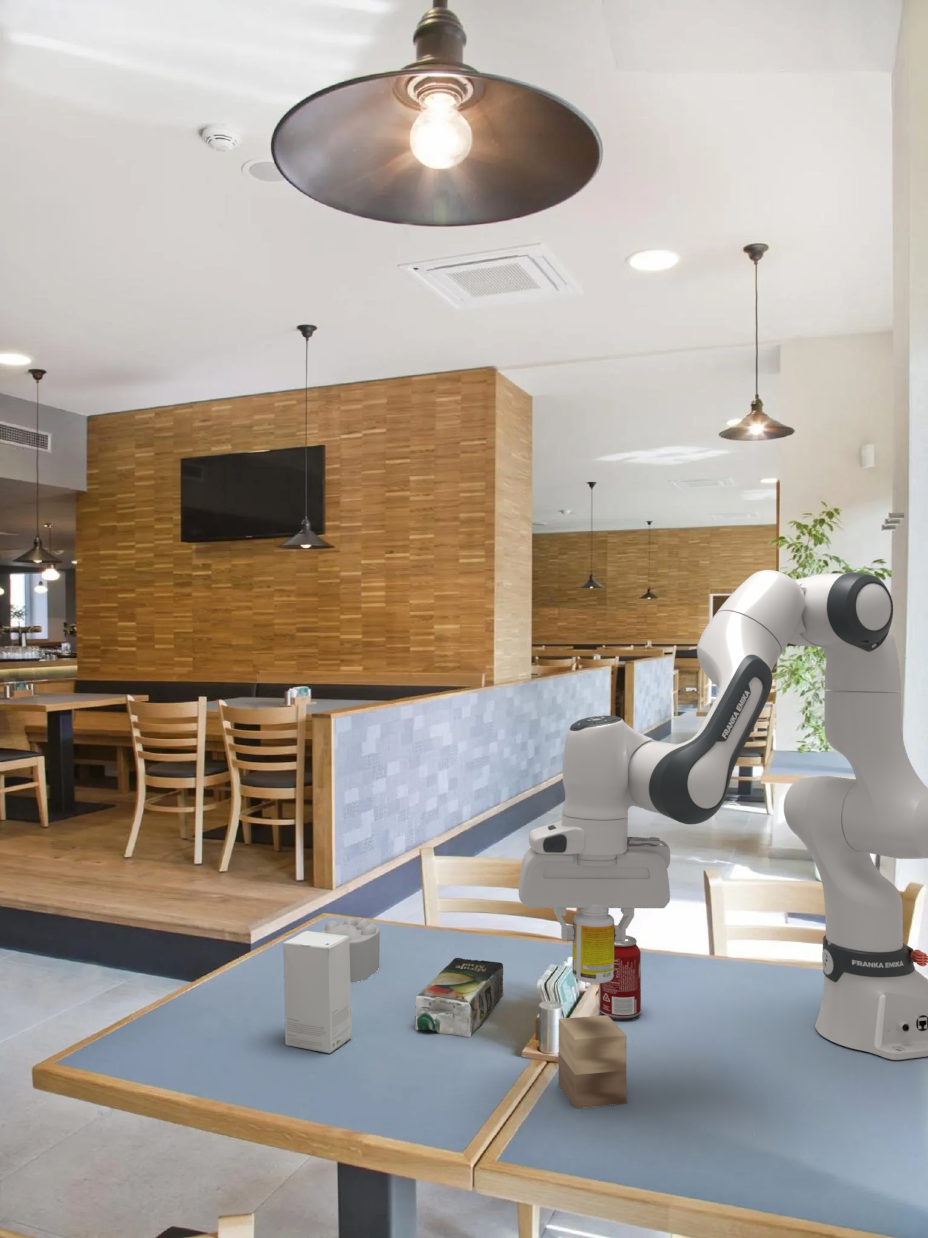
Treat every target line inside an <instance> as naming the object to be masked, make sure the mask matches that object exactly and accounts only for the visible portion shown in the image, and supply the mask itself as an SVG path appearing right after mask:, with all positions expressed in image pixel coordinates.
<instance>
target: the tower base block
mask: <svg viewBox="0 0 928 1238" xmlns="http://www.w3.org/2000/svg"><path fill="white" fill-rule="evenodd" d="M557 1059H558V1060H557V1061H558V1063H557V1064H558V1070H557V1071H558V1073H557V1076H558V1077H557V1079H558V1080H557V1081H558V1082H557V1083H558V1084H559V1085H558V1086H559V1088H560V1089H561V1090H562V1092H563V1093H564V1095H565V1096H566V1098H567V1099H568V1098H569V1099H568V1100H569V1102H570V1101H571V1102H570V1103H571V1104H573V1105H572V1106H573V1107H574V1109H575V1110H577V1108H579V1109H584V1108H583V1107H588V1108H595V1107H594V1106H598V1107H605V1105H607V1106H613V1105H612V1104H616V1105H622V1104H621V1103H626V1104H627V1069H626V1070H625V1071H614V1072H603V1073H592V1074H581V1075H575V1074H574V1073H573V1071H572V1070H571V1069H570V1067H569V1066H568V1064H567V1063H566V1062H565V1060H564V1059H563V1058H562V1056H561V1055H560V1053H559V1051H558V1058H557ZM610 1104H611V1105H610ZM603 1105H604V1106H603ZM592 1106H593V1107H592Z"/></svg>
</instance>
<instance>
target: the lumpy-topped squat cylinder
mask: <svg viewBox="0 0 928 1238" xmlns="http://www.w3.org/2000/svg"><path fill="white" fill-rule="evenodd" d="M319 933H327V934H336V935H344V936H349V945H350V947H349V949H350V982H353V983H358V982H357V981H360V982H362V981H361V980H364V981H366V980H368V979H369V978H368V977H370V976H371V975H372V974H374V973H375V972H376V971H377V970H378V968H379V969H380V950H381V949H380V943H381V942H380V941H381V940H380V937H381V936H380V935H381V934H380V928H379V927H378V925H377V924H375V923H373V922H370V920H369V919H368V918H362V919H360V920H359V919H357V918H354V917H348V918H347V919H345V920H344V921H343V922H340V923H339V922H338V921H336V920H329V921H328V922H327V923H326V924H325V927H324V929H322V930H321V931H320V932H319ZM378 971H379V970H378ZM378 971H377V972H378ZM377 972H376V973H377ZM376 973H375V974H376ZM375 974H374V975H375ZM371 977H372V976H371ZM371 977H370V978H371ZM367 978H368V979H367ZM365 979H366V980H365Z"/></svg>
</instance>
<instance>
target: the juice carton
mask: <svg viewBox="0 0 928 1238" xmlns="http://www.w3.org/2000/svg"><path fill="white" fill-rule="evenodd" d="M503 994H504V963H502V962H499V961H489V960H479V959H468V958H467V959H466V958H461V957H455V958H453V959H452V961H451V962H450V963H448V965H446V966H445V967H444V968H443V969H442V970H441V971H440V972H439V973H438V974H437V975H436V977H435V978H434V979H433V980H431V982H430V983H429V984H427V986H426V987H424V988H423V989H422V990H421V991H420V992H419V993H418V994H417V995H416V996H415V1011H416V1012H415V1013H416V1014H415V1016H414V1023H415V1030H416V1031H422V1030H423V1031H425V1030H431V1031H433V1032H436V1033H438V1034H443V1035H454V1036H457V1037H458V1036H459V1037H465V1038H471V1037H472V1035H473V1034H475V1031H476V1030H478V1029H479V1028H480V1027H481V1025H482V1023H483V1021H484V1020H485V1018H486V1017H488V1015H489V1013H490V1012H492V1010H493V1009H494V1008H495V1006H496V1005H497V1003H499V1001H500V1000H501V998H502V997H503Z"/></svg>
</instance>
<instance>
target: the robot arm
mask: <svg viewBox="0 0 928 1238" xmlns="http://www.w3.org/2000/svg"><path fill="white" fill-rule="evenodd" d="M893 618H894V603H893V597H892V594H891V593H890V591H889V589H888V587H887V586H886V583H884V581H882V580H881V579H880V578H879V577H877V576H875V575H873V574H869V573H864V572H863V573H862V572H855V571H849V572H846V573H837V572H836V573H834V572H833V573H820V574H819V573H818V574H814V575H810V576H806V577H801V578H797V579H793V578H792V577H791V576H789V575H787V574H786V573H783V572H780V571H777V570H773V569H763V570H759V571H757V572H754V573H753V574H751V575H750V576H749V577H748V578H746V579H745V581H743V582H741V584H740V585H739V586H738V587H737V588H736V589H735V590H734V591H733V592H732V593H731V594H730V595H729V597H728V598H726V600H725V601H724V602H723V603H722V605H721V606H720V607H719V608H718V610H717V612H716V613H715V614H714V615H713V616H712V618H711V619H710V621H709V622H708V623H707V625H706V626H705V628H704V630H703V632H702V633H701V635H700V638H699V641H698V643H697V645H696V654H697V660H698V663H699V666H700V667H701V670H702V671H703V673H704V674H705V675H706V677H707V678H708V679H709V680H710V681H711V682H712V683H713V684H714V685H715V686H716V687H717V688H718V692H717V695H716V697H715V700H714V701H713V704H712V705H711V706H710V709H709V710H708V712H707V714H706V716H705V718H704V720H703V721H702V724H701V725H700V727H699V728H698V731H697V732H696V734H694V736H693V737H692V738H690V739H688V740H686V741H684V742H680V743H671V742H665V741H660V740H655V739H653V738H652V737H649V736H647V735H645V734H643V733H641V732H638V730H635V729H634V728H632V727H630V726H629V725H628V724H627V723H626V722H625V720H624V719H623V718H622V717H621V716H620V717H619V716H617V715H601V716H600V715H596V716H595V715H594V716H590V717H589V716H588V717H585V718H581V719H579V720H577V721H575V722H574V723H572V724H571V725H570V727H569V728H568V731H567V732H566V733H567V734H566V737H565V743H564V748H563V749H564V750H563V759H562V760H563V761H562V783H563V787H564V794H565V795H564V796H565V797H564V798H565V799H564V804H563V805H562V806H563V807H562V809H561V810H562V812H561V813H562V814H561V820H559V821H556V822H553V823H549V824H547V825H544V826H539V827H537V828H534V829H532V830H530V831H529V834H528V843H529V846H530V848H529V849H528V850H526V852H525V853H524V855H523V857H522V861H521V867H520V873H519V881H518V898H519V901H520V902H521V903H522V905H524V907H525V908H529V909H530V908H531V909H532V908H533V909H534V908H535V909H536V908H538V909H540V908H542V909H543V908H548V909H549V908H550V909H553V913H554V915H555V917H556V919H557V921H558V923H559V925H560V926H561V933H560V936H561V940H562V941H563V942H573V941H574V936H573V935H574V927H573V924H567V923H566V922H565V920H564V918H563V917H565V916H567V909H569V908H570V909H579V908H589V907H591V906H592V905H601V906H602V907H603V908H609V909H620V912H621V914H623V915H622V917H621V919H620V920H619V922H618V924H614V941H625V940H626V935H627V934H626V931H627V929H628V927H629V926H630V924H631V923H632V921H633V919H634V918H635V909H664V908H666V907H667V906H668V904H669V903H670V900H671V895H670V894H671V892H670V889H671V888H670V881H669V880H670V879H669V874H668V868H669V866H670V864H671V849H670V846H669V845H668V843H666V842H665V841H663V840H661V839H660V838H659V837H655V836H649V837H641V836H628V835H629V834H628V833H629V832H628V831H629V830H628V826H629V825H628V823H629V821H628V820H629V819H628V818H629V813H628V812H629V809H630V808H631V807H636V808H641V809H643V810H645V811H648V812H652V813H656V814H660V815H663V816H665V817H667V818H670V819H672V820H674V821H676V822H678V823H680V824H685V825H698V824H701V823H705V822H706V821H708V820H710V819H711V818H712V817H713V816H715V814H717V812H718V811H719V810H720V809H721V807H722V806H723V804H724V802H725V800H726V798H727V794H728V791H729V787H730V784H731V779H732V776H733V772H734V770H735V767H736V764H737V762H738V760H739V758H740V756H741V754H742V752H743V750H744V748H745V746H746V744H747V743H748V739H749V738H750V735H751V734H752V732H753V731H754V730H753V729H754V728H755V726H756V723H757V722H758V720H759V718H760V716H761V714H762V712H763V710H764V707H765V705H766V703H767V701H768V698H769V696H770V693H771V692H772V691H771V690H772V687H773V673H772V670H773V669H774V667H775V665H776V664H777V661H778V660H779V658H780V657H781V656H782V654H783V653H784V651H785V649H786V647H796V646H798V647H799V646H800V647H801V646H802V647H811V648H821V649H822V652H823V655H825V659H826V660H825V661H826V662H825V671H824V672H825V673H824V736H825V739H826V741H827V743H828V744H829V746H831V748H832V749H834V751H837V752H838V753H839V754H841V755H842V756H843V757H845V759H846V760H847V761H848V763H849V764H850V766H851V768H852V771H853V774H854V778H848V777H841V776H840V777H839V776H832V775H821V776H810V777H801V778H799V779H797V780H795V781H794V782H793V783H792V784H791V785H790V787H789V788H788V790H787V792H786V794H785V796H784V800H783V814H784V815H783V816H784V818H785V822H786V824H787V826H788V827H789V829H790V830H791V831H792V832H793V834H795V835H796V836H797V837H798V839H800V841H801V842H802V843H803V845H804V846H805V848H806V849H807V850H808V852H809V854H810V856H811V857H812V860H813V862H814V865H815V866H816V868H817V871H818V872H817V873H818V874H819V877H820V881H821V885H822V890H823V901H824V903H823V904H824V916H825V935H824V936H823V937H822V954H821V956H822V957H821V958H822V959H821V960H822V962H821V963H822V973H823V974H824V980H823V989H822V997H821V1004H820V1008H819V1011H818V1016H817V1019H816V1022H815V1030H816V1032H817V1033H818V1034H819V1035H820V1036H822V1037H823V1038H825V1039H826V1040H829V1041H831V1042H833V1043H835V1044H837V1045H840V1046H842V1047H843V1046H844V1047H846V1048H849V1049H854V1050H857V1051H863V1052H867V1053H870V1054H874V1055H877V1056H880V1057H881V1058H884V1059H887V1060H888V1059H889V1060H892V1061H901V1060H908V1059H915V1058H916V1059H917V1058H925V1057H928V978H926V977H925V976H924V975H923V974H922V973H920V971H918V970H916V967H915V965H914V964H916V965H918V966H920V967H926V966H928V954H926V953H925V952H923V951H921V950H920V949H914V948H912V947H910V946H909V945H907V944H905V943H904V928H903V926H904V924H903V923H904V920H903V919H904V917H903V916H904V915H903V909H904V908H903V898H902V895H901V893H900V891H899V890H898V888H897V887H896V886H895V884H893V883H892V882H891V881H890V880H889V879H888V878H886V877H885V876H884V875H883V874H882V873H881V872H880V871H879V870H878V868H877V867H876V865H875V863H874V861H873V859H872V855H871V854H873V855H877V856H883V857H887V858H894V859H898V860H919V859H928V787H927V785H925V783H924V782H923V781H922V780H921V778H920V777H919V775H918V773H917V772H916V771H915V769H914V767H913V766H912V763H911V760H910V758H909V756H908V754H907V749H906V746H905V740H904V736H903V723H902V693H901V692H902V688H901V687H902V686H901V685H902V680H901V669H900V660H899V654H898V649H897V644H896V641H895V639H896V638H895V637H894V634H893V632H892V631H891V630H890V629H891V625H892V622H893Z"/></svg>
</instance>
